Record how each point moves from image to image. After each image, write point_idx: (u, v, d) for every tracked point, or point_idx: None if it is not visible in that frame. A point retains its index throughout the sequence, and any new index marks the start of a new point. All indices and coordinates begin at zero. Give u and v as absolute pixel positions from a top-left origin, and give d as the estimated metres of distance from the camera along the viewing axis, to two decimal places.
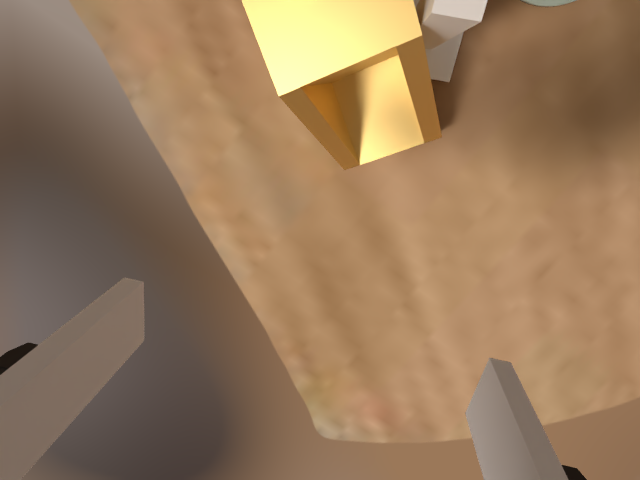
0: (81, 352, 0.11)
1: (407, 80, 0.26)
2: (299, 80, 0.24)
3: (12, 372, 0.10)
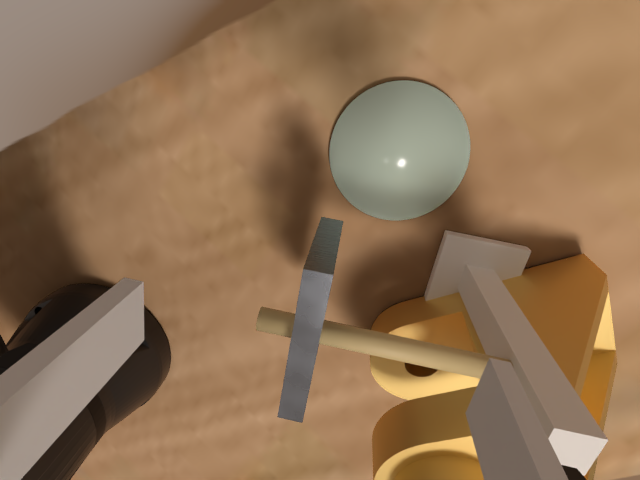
0: (81, 352, 0.11)
1: (582, 388, 0.24)
2: None
3: (12, 372, 0.10)
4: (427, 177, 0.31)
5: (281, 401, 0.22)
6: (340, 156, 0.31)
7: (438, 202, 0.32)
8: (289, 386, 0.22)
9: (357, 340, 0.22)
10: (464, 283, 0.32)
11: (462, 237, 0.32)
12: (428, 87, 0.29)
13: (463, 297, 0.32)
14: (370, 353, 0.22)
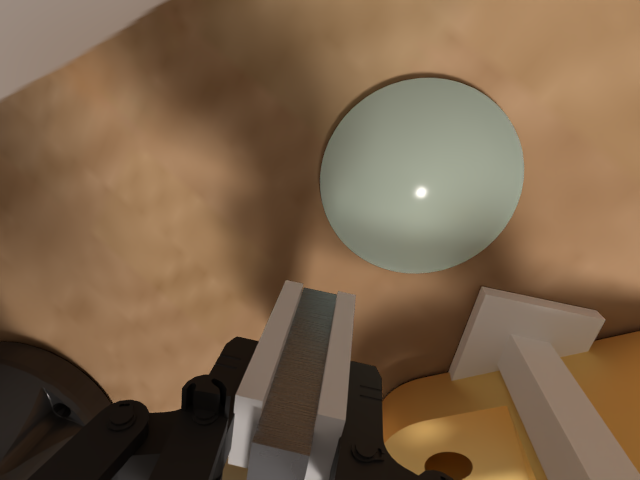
0: (284, 345, 0.13)
1: None
2: None
3: (257, 360, 0.12)
4: (459, 216, 0.22)
5: None
6: (335, 185, 0.22)
7: (474, 250, 0.22)
8: None
9: None
10: (509, 362, 0.23)
11: (507, 298, 0.23)
12: (465, 88, 0.19)
13: (508, 384, 0.23)
14: None
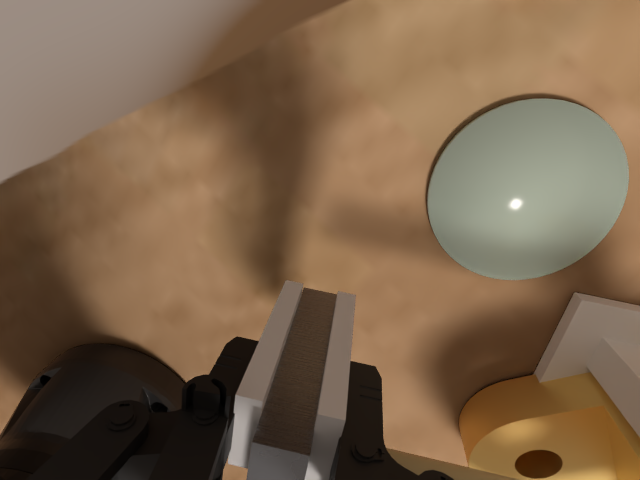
0: (284, 345, 0.13)
1: None
2: None
3: (257, 360, 0.12)
4: (561, 226, 0.23)
5: None
6: (443, 198, 0.23)
7: (572, 258, 0.24)
8: None
9: None
10: (603, 364, 0.24)
11: (602, 304, 0.24)
12: (578, 108, 0.21)
13: (604, 384, 0.24)
14: None
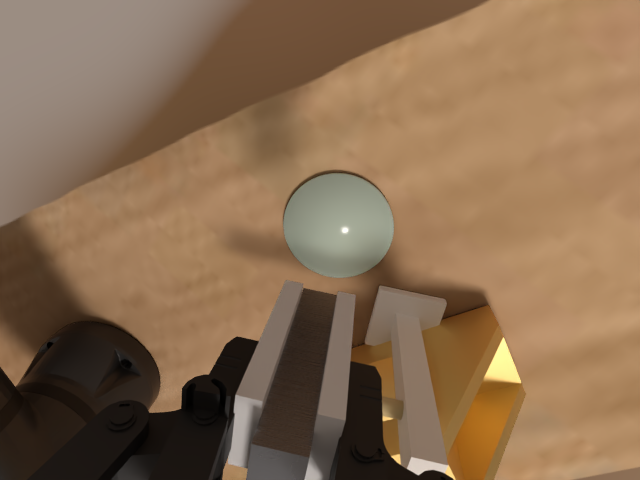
0: (284, 345, 0.13)
1: (463, 419, 0.31)
2: None
3: (257, 360, 0.12)
4: (361, 245, 0.39)
5: None
6: (292, 228, 0.39)
7: (371, 264, 0.39)
8: None
9: None
10: (393, 329, 0.40)
11: (391, 292, 0.40)
12: (358, 179, 0.36)
13: (392, 341, 0.40)
14: None
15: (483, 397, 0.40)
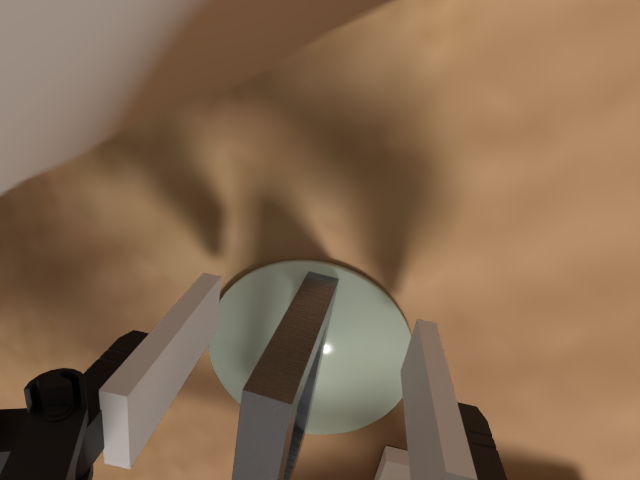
0: (183, 339, 0.13)
1: None
2: None
3: (138, 354, 0.11)
4: (353, 387, 0.21)
5: None
6: (224, 353, 0.21)
7: (372, 418, 0.21)
8: None
9: None
10: None
11: (408, 465, 0.22)
12: (345, 275, 0.18)
13: None
14: None
15: None
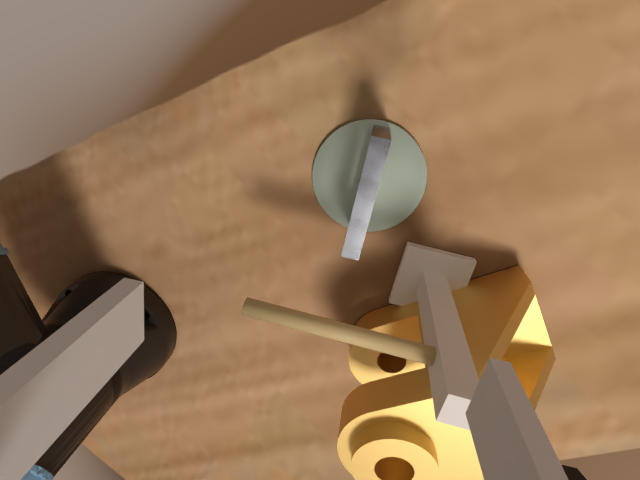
0: (81, 352, 0.11)
1: None
2: None
3: (12, 372, 0.10)
4: (392, 198, 0.38)
5: (345, 242, 0.32)
6: (321, 177, 0.38)
7: (401, 218, 0.38)
8: (352, 230, 0.31)
9: (318, 326, 0.29)
10: (420, 286, 0.39)
11: (420, 248, 0.39)
12: (392, 126, 0.35)
13: (418, 298, 0.39)
14: (327, 336, 0.29)
15: (511, 360, 0.38)
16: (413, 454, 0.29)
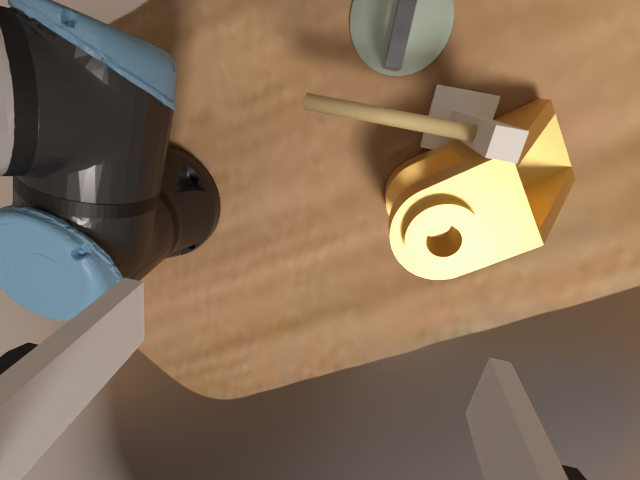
0: (81, 352, 0.11)
1: (528, 150, 0.34)
2: (533, 231, 0.34)
3: (12, 372, 0.10)
4: (422, 38, 0.42)
5: (389, 51, 0.36)
6: (358, 23, 0.42)
7: (431, 59, 0.42)
8: (395, 37, 0.35)
9: (372, 110, 0.33)
10: None
11: None
12: None
13: None
14: (381, 120, 0.33)
15: (535, 183, 0.43)
16: (461, 219, 0.33)
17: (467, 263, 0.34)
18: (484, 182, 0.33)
